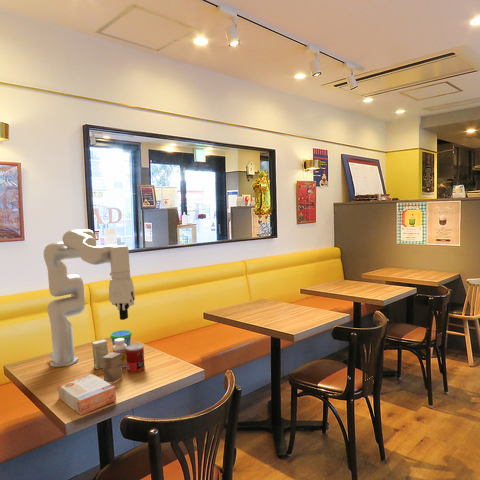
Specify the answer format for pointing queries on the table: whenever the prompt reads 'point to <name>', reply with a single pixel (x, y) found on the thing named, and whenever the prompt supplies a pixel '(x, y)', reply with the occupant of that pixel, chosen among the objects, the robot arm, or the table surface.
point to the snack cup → (121, 336)
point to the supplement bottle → (120, 350)
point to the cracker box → (86, 393)
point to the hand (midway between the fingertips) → (124, 318)
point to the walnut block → (112, 367)
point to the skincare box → (99, 352)
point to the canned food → (135, 358)
